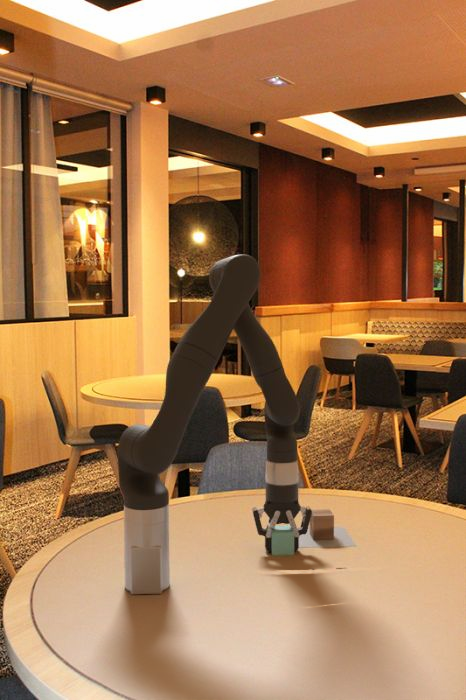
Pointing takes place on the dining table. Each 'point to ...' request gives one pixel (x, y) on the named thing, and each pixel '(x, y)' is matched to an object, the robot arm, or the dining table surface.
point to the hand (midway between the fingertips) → (281, 551)
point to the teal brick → (282, 540)
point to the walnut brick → (322, 524)
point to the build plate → (339, 540)
